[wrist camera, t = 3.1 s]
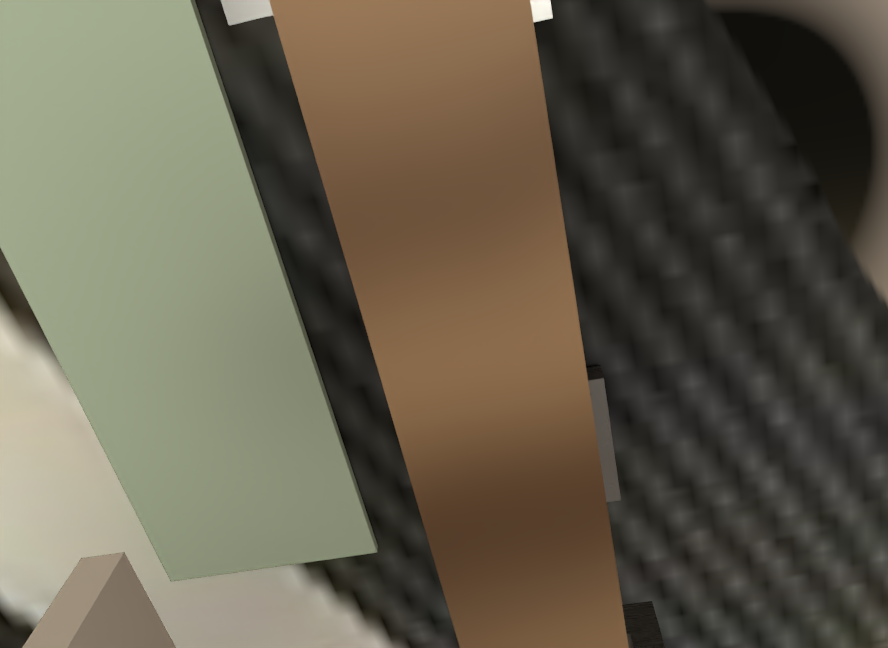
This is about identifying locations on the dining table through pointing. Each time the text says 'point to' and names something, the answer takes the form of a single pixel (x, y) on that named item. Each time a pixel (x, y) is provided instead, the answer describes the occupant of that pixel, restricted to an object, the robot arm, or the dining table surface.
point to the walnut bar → (466, 300)
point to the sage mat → (167, 286)
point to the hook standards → (640, 619)
